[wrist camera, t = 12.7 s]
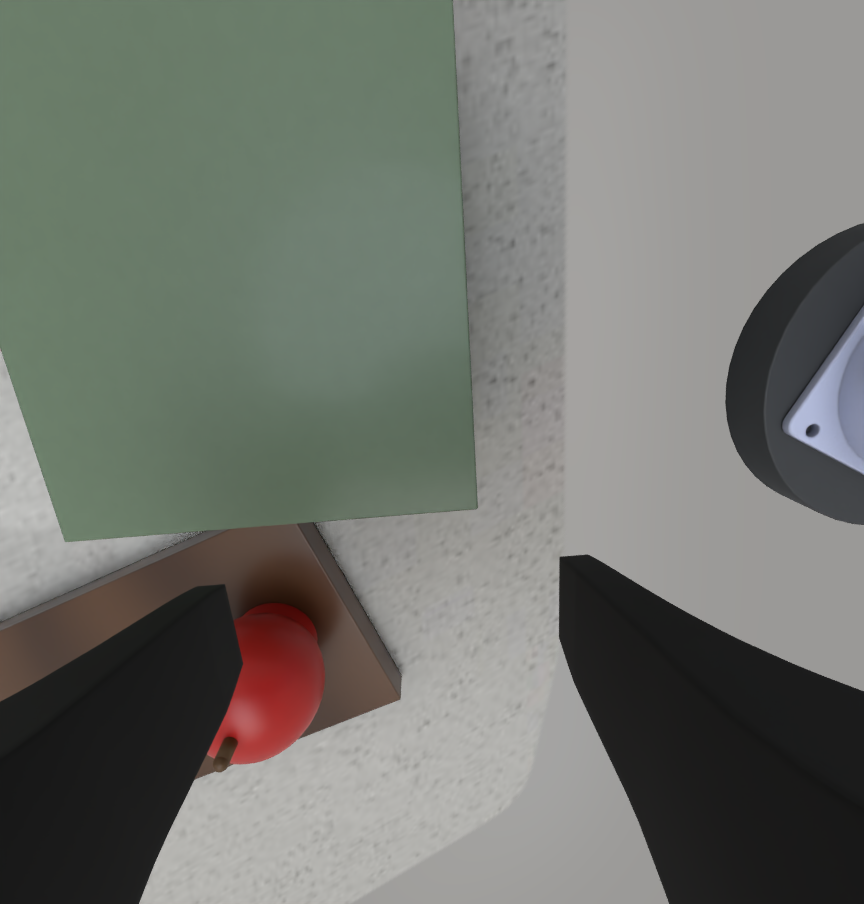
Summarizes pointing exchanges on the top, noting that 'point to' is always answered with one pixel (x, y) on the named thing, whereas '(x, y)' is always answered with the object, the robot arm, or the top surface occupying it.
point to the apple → (270, 686)
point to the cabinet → (235, 260)
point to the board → (248, 585)
